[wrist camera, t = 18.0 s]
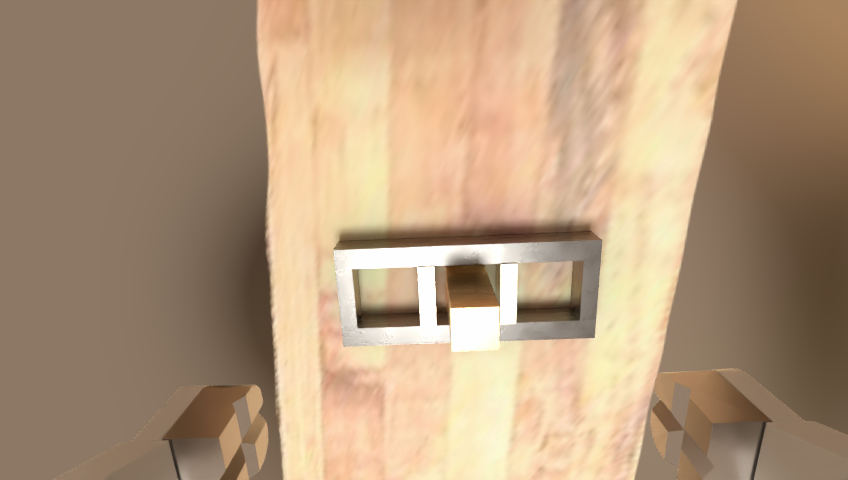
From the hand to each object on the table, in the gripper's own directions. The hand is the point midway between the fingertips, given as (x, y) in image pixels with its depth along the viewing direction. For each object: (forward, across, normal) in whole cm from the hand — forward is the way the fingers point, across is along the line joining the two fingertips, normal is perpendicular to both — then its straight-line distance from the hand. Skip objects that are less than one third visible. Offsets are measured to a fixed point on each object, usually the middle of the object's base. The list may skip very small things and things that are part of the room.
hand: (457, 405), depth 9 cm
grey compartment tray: (+35, -3, +12) cm, 37 cm away
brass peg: (+35, -3, +12) cm, 37 cm away
